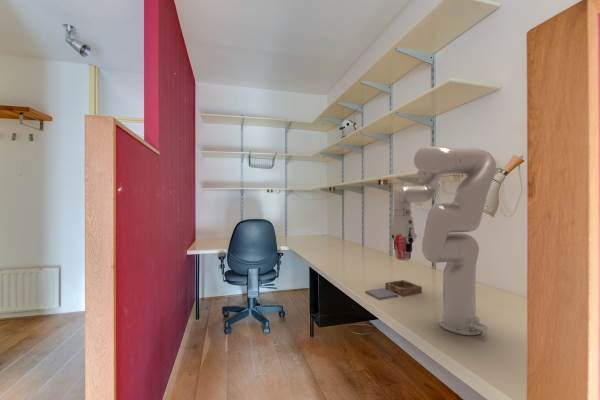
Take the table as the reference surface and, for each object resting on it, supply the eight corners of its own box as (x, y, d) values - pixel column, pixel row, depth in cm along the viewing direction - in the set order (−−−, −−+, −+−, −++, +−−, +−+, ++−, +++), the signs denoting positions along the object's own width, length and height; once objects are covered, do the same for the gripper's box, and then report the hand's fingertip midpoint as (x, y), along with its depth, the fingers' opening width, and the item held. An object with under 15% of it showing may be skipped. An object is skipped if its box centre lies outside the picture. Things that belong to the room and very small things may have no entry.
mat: (397, 296, 120) (397, 294, 120) (379, 299, 116) (379, 297, 116) (382, 290, 129) (382, 287, 129) (365, 292, 125) (365, 290, 125)
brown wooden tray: (421, 292, 125) (421, 286, 125) (402, 296, 120) (402, 289, 120) (403, 285, 135) (403, 280, 135) (385, 288, 131) (385, 282, 131)
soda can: (400, 257, 132) (400, 233, 133) (414, 259, 127) (413, 234, 127) (392, 259, 128) (391, 234, 129) (405, 261, 123) (404, 235, 123)
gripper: (422, 213, 121) (423, 252, 121) (395, 212, 137) (395, 247, 137) (410, 214, 118) (410, 254, 118) (383, 213, 134) (384, 248, 134)
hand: (402, 250), depth 128 cm, fingers closed on soda can, 7 cm apart
